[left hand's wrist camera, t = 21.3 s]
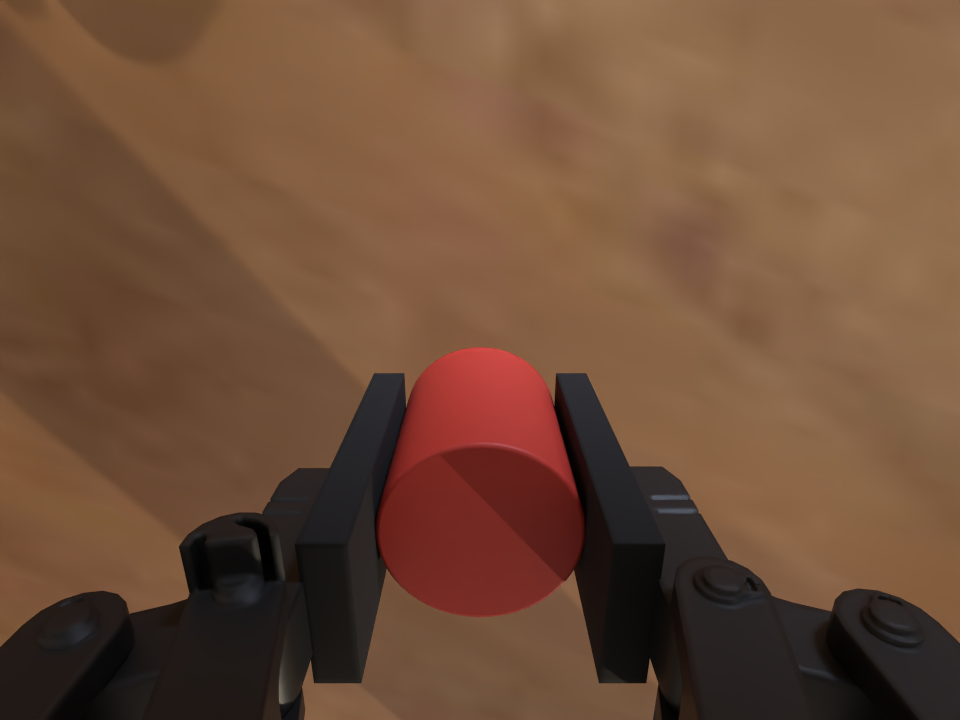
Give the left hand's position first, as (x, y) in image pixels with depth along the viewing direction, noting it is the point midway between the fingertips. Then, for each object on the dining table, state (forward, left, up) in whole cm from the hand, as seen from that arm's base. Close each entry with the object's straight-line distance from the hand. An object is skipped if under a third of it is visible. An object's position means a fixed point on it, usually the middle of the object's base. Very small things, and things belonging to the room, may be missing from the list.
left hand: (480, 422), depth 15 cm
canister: (0, 0, 0) cm, 0 cm away
